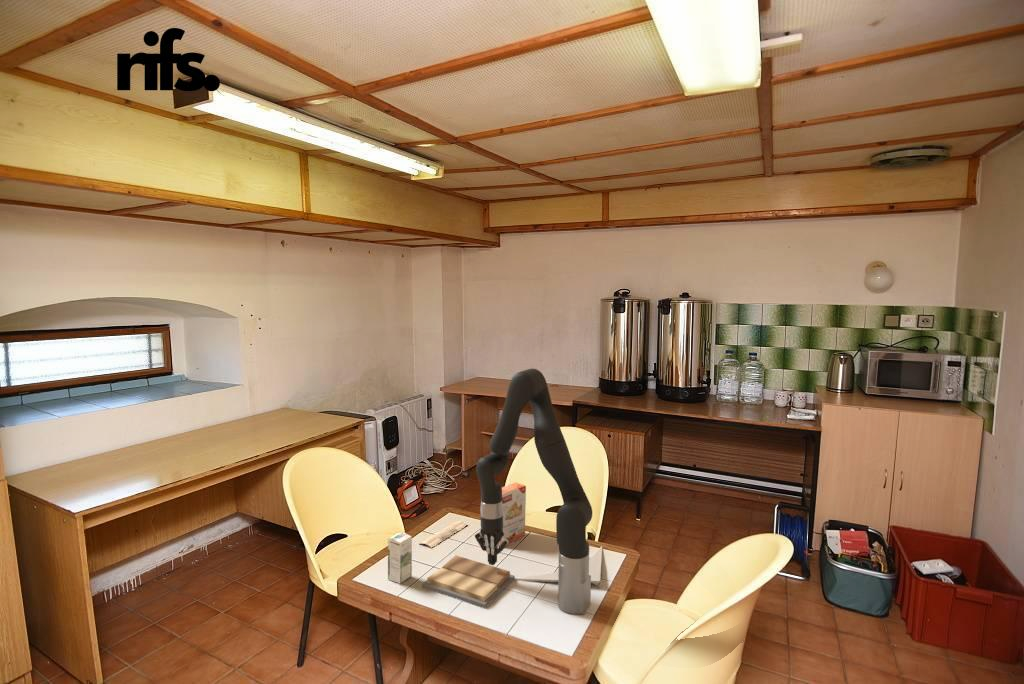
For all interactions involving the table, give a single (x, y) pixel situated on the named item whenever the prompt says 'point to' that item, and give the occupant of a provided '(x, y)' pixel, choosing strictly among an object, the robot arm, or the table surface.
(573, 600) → the robot arm
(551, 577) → the corner molding
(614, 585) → the table surface
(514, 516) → the cracker box
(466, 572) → the walnut plank
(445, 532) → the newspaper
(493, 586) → the oak plank
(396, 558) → the syrup box
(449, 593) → the board
